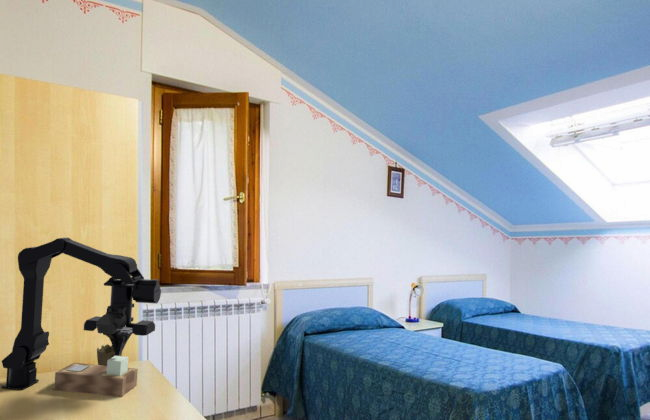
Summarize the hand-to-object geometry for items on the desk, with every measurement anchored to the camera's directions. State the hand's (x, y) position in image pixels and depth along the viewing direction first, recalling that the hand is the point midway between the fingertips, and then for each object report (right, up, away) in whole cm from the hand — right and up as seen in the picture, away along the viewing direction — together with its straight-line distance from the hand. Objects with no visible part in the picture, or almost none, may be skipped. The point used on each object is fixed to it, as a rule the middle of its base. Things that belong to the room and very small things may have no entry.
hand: (118, 355), depth 126 cm
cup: (-9, -10, +12) cm, 17 cm away
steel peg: (-12, -9, +1) cm, 15 cm away
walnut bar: (-6, -10, +1) cm, 12 cm away
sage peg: (0, -6, 0) cm, 6 cm away
